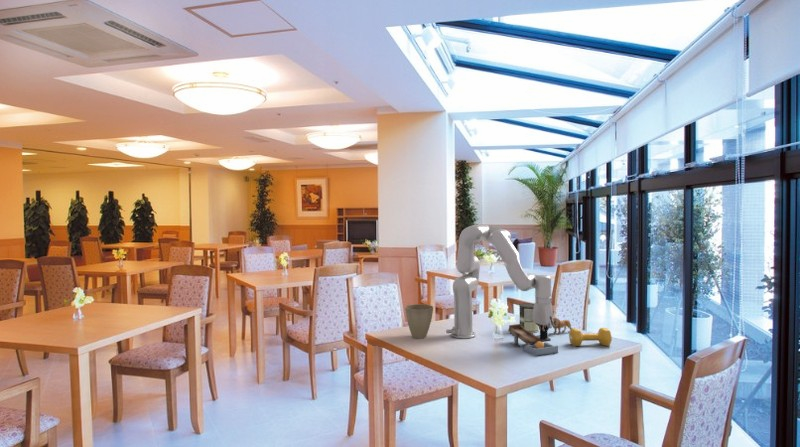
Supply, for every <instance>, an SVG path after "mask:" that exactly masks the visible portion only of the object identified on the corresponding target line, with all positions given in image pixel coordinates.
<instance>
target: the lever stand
mask: <svg viewBox="0 0 800 447" xmlns="http://www.w3.org/2000/svg"><path fill="white" fill-rule="evenodd" d="M531 333H532V332H531ZM532 334H534V333H532ZM513 337H514V338H513V340H514V342H513V343H511V344H510V345H511V346H513V347H514V348H520V344H519V338H518V335H517V334H514V336H513ZM535 344H536V343H533V344H531V345H535Z"/></svg>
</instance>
